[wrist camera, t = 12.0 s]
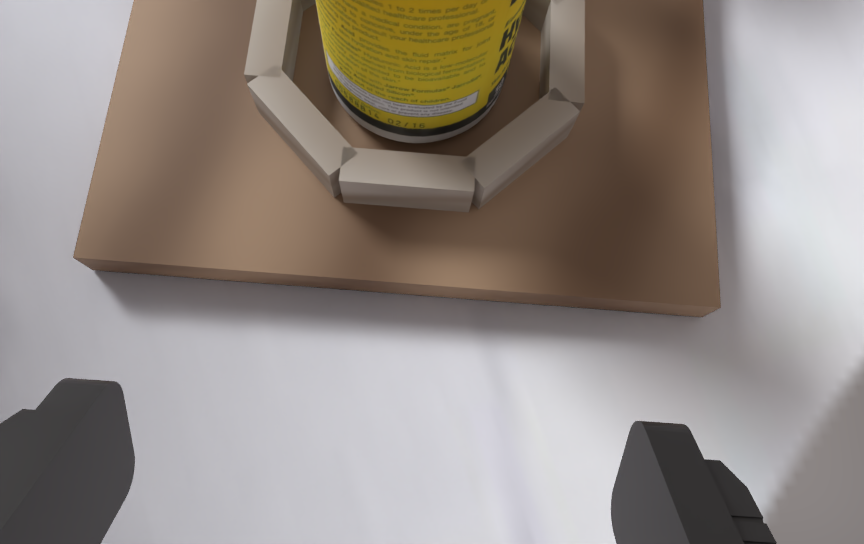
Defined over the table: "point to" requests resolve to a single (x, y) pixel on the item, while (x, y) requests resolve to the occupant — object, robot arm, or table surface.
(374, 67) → the supplement bottle
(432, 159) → the socket board
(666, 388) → the table surface
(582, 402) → the table surface
